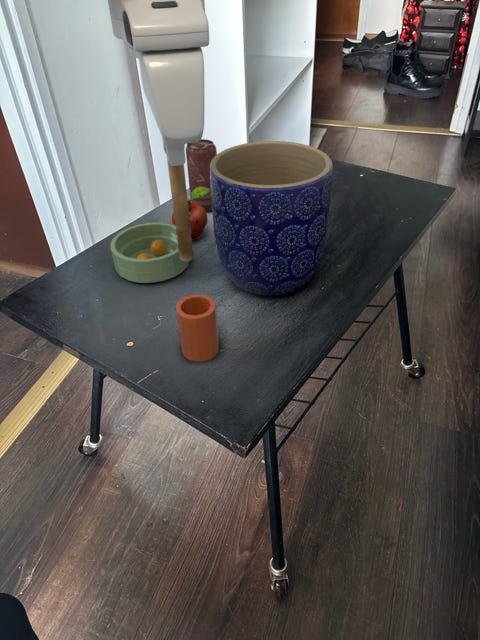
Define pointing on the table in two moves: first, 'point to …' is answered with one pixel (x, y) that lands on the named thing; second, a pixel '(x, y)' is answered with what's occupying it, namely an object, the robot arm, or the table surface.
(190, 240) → the stick
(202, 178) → the can
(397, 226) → the table surface
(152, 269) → the bowl
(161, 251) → the bead
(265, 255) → the planter
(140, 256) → the bead
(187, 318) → the crock
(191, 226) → the apple
